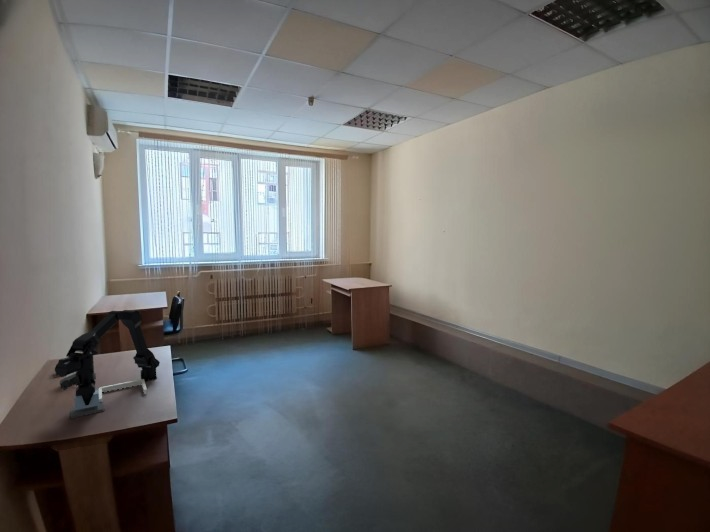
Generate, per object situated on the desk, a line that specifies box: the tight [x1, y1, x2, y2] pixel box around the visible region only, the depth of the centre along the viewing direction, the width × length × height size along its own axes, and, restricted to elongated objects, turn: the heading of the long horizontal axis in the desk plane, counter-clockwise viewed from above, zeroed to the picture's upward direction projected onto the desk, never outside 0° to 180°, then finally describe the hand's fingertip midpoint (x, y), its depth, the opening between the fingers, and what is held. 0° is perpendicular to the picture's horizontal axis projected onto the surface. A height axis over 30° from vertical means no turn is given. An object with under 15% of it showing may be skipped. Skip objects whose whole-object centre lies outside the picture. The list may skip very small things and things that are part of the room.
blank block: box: [73, 389, 99, 410], centre depth 149 cm, size 4×8×5 cm, turn 126°
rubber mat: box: [70, 401, 105, 420], centre depth 149 cm, size 11×8×1 cm
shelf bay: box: [98, 378, 148, 402], centre depth 166 cm, size 18×14×2 cm
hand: (87, 402), depth 149 cm, fingers closed on blank block, 4 cm apart
